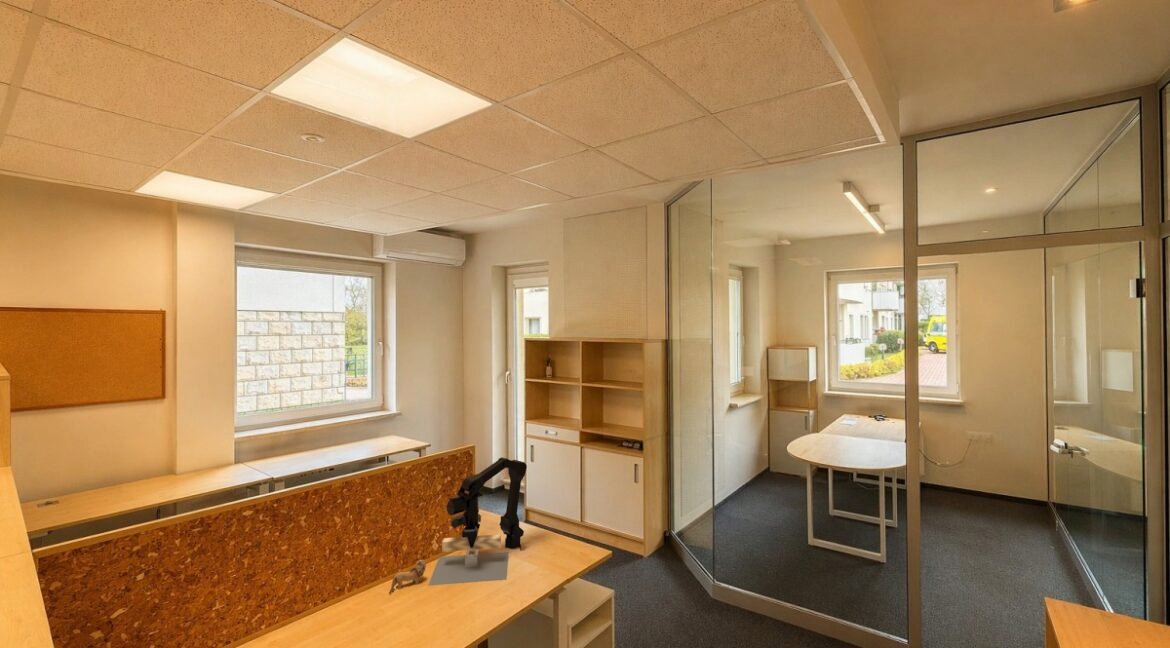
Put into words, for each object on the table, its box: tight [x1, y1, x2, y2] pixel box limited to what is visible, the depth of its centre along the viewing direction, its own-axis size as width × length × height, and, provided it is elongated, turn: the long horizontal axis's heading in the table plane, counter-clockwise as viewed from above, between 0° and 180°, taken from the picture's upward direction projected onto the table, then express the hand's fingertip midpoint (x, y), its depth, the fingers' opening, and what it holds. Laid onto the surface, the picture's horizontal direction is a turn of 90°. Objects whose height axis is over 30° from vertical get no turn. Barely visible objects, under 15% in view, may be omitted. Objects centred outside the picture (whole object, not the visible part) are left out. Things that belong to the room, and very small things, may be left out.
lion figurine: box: [388, 559, 427, 594], centre depth 194 cm, size 15×5×9 cm, turn 133°
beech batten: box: [441, 533, 502, 553], centre depth 211 cm, size 24×4×4 cm, turn 97°
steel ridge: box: [465, 549, 480, 568], centre depth 211 cm, size 5×8×5 cm, turn 7°
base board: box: [428, 551, 509, 586], centre depth 207 cm, size 30×25×1 cm
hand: (472, 545), depth 211 cm, fingers closed on beech batten, 4 cm apart
